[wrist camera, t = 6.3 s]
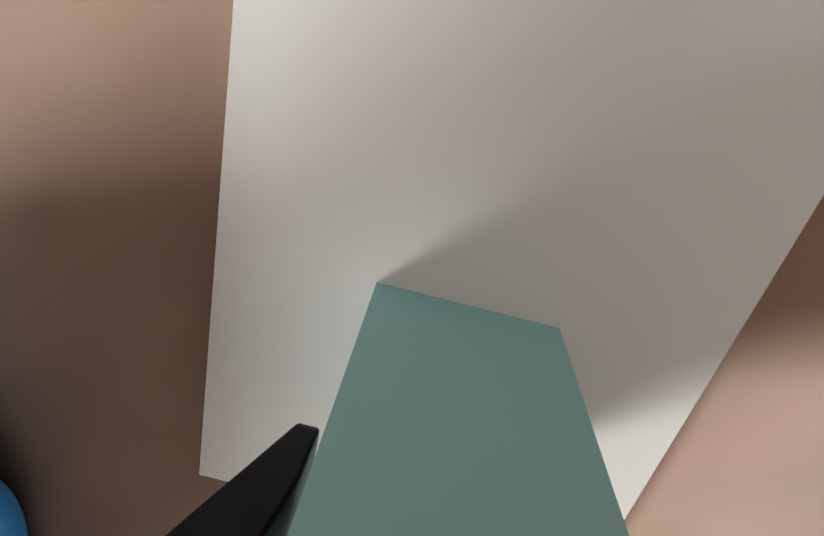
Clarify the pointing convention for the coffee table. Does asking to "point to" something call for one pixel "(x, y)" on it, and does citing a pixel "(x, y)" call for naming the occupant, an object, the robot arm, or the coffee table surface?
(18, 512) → the alarm clock
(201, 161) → the coffee table surface
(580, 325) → the mat
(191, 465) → the coffee table surface
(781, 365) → the coffee table surface
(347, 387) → the block
